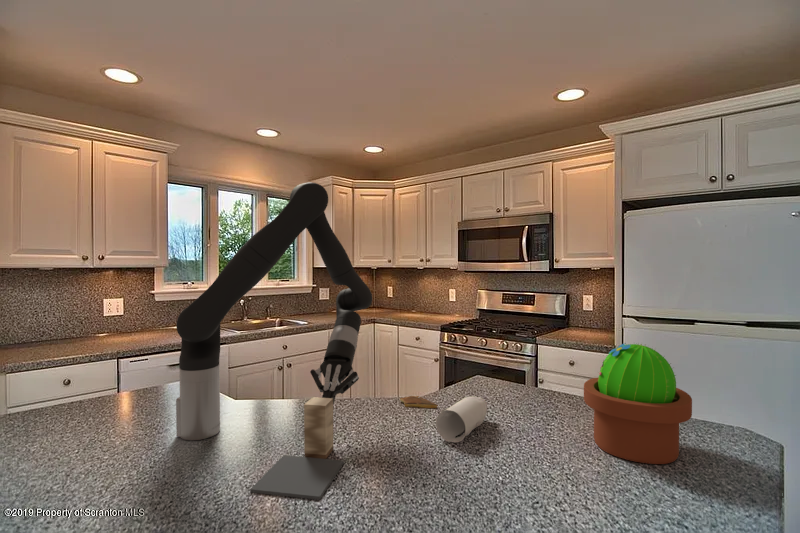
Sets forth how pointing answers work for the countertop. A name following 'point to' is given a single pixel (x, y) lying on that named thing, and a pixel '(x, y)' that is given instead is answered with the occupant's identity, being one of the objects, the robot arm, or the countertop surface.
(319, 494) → the mat
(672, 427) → the potted cactus
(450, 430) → the hollow grey tube
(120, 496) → the countertop surface
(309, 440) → the maple block
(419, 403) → the shard
